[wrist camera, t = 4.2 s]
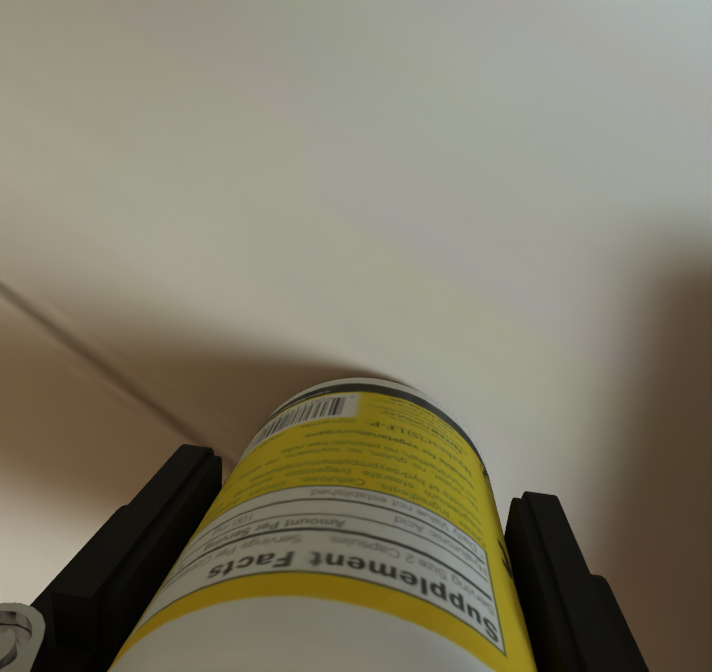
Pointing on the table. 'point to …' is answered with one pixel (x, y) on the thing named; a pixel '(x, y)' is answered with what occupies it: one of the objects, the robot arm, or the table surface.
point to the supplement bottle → (343, 550)
